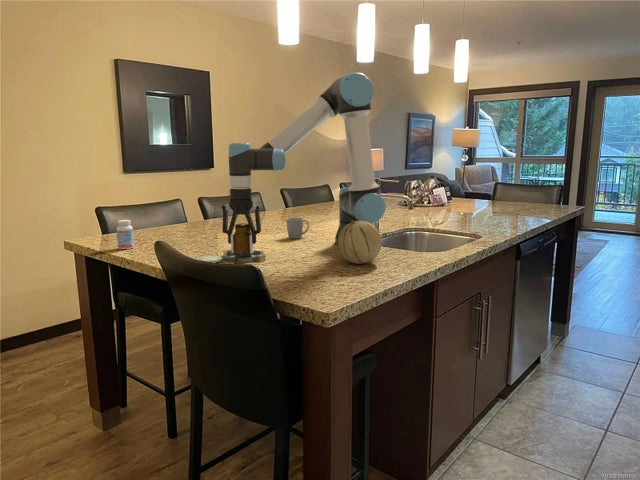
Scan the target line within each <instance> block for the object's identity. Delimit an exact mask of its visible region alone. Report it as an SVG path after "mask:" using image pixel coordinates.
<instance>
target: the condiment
mask: <svg viewBox="0 0 640 480" xmlns="http://www.w3.org/2000/svg"><path fill="white" fill-rule="evenodd" d="M234 229H235V231H234V232H233V234H234V242H235V255H234V256H232V257H234V258H247V257H254V256H256V255H253V254H252V253H250V235H251V234H252V233H251V230H250V228H249V225H248V222H247V223H244V222H243V223H235V225H234Z"/></svg>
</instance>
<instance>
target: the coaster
mask: <svg viewBox="0 0 640 480" xmlns="http://www.w3.org/2000/svg"><path fill="white" fill-rule="evenodd" d="M194 259H198V260H203V261H211V262H218V263H220V262H222V261H223V258H222V257H221V256H216V255H205V256H204V255H203V256H199V257H195V258H194Z"/></svg>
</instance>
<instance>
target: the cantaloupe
mask: <svg viewBox="0 0 640 480" xmlns="http://www.w3.org/2000/svg"><path fill="white" fill-rule="evenodd" d="M382 243H383V242H382V236H381V234H380V231H379V230H378V228H377V227H376V226H374V225H373V223H372V224H371V223H369V222H367V221H351V223H349V224H347V225H346V226H345V227H344V228H343V229H342V230H341V231H340V233H339V236H338V244H337V246H338V247H337V248H338V251H339V252H340V254H341V256H342V257H343V258H344V259H345V260H346V261H348V262H349V263H352V264H357V265H361V264H362V265H363V264H367V263H370V262H372V261H374V259H375V258H377V257H378V255H379V253H380V251H381V248H382Z"/></svg>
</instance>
